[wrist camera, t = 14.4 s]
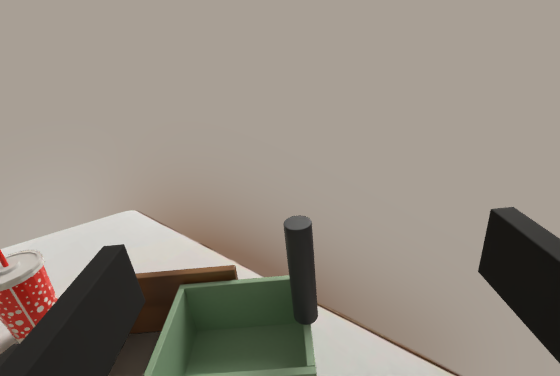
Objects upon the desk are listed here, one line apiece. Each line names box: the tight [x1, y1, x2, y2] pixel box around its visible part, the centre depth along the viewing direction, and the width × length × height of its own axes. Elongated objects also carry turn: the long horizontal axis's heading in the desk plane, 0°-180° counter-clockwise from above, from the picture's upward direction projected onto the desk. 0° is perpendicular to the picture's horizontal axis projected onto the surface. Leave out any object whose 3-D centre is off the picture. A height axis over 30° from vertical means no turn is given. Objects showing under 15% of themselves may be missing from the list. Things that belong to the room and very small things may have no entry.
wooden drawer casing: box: [129, 265, 238, 334], centre depth 27 cm, size 15×13×8 cm
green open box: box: [144, 216, 318, 376], centre depth 25 cm, size 13×10×16 cm
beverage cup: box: [0, 250, 58, 344], centre depth 33 cm, size 6×6×14 cm
